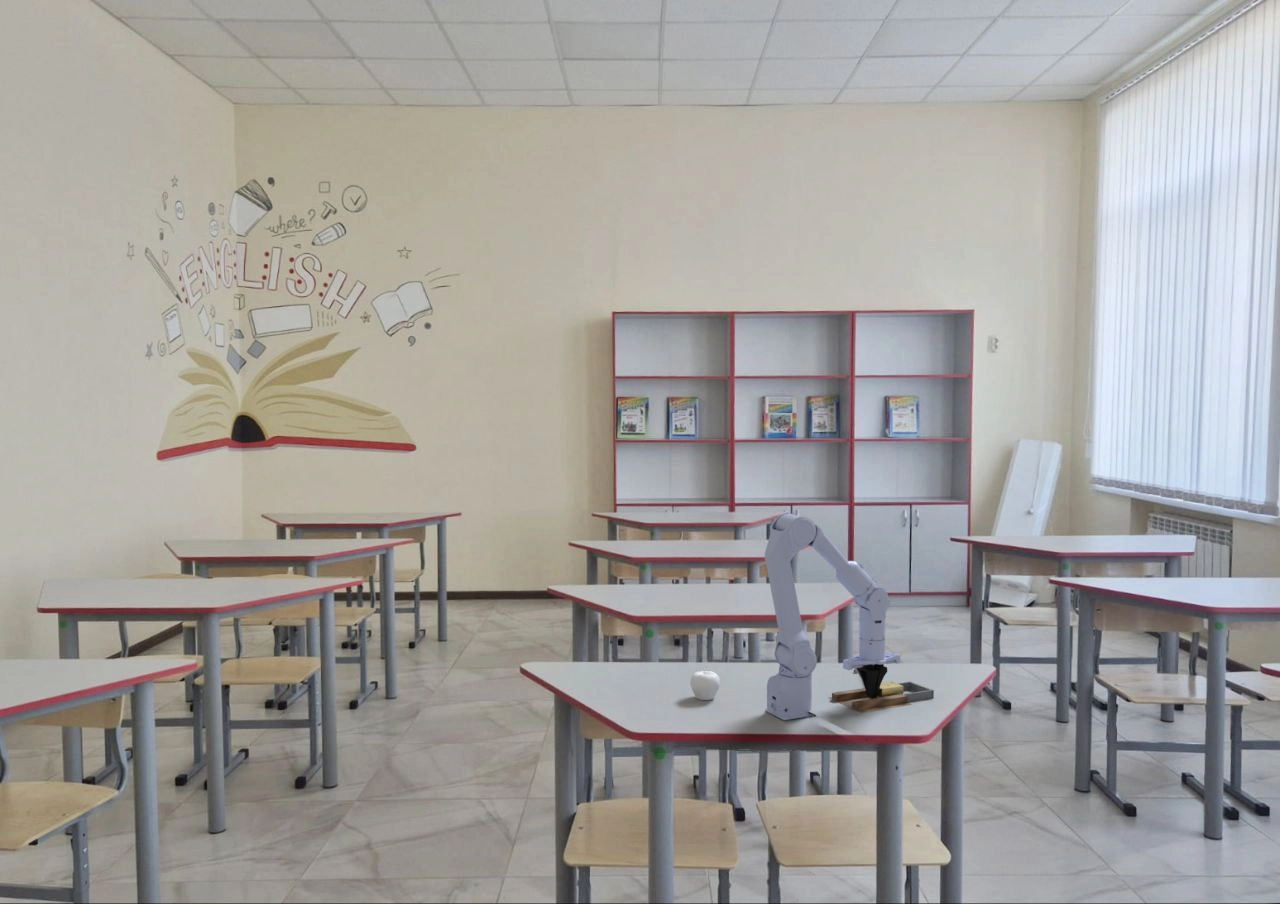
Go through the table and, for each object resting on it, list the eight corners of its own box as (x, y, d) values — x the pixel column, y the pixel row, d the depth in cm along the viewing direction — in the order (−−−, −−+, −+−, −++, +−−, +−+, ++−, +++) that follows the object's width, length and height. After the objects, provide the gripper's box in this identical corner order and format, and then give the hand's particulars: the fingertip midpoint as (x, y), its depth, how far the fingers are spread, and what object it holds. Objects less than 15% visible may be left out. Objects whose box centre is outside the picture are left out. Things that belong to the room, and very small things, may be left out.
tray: (905, 707, 212) (905, 694, 211) (883, 697, 219) (883, 685, 219) (933, 702, 215) (933, 690, 215) (910, 693, 222) (910, 681, 222)
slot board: (860, 717, 204) (860, 705, 204) (828, 702, 215) (828, 691, 215) (911, 709, 210) (911, 697, 210) (877, 695, 221) (877, 684, 221)
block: (882, 702, 211) (882, 689, 211) (870, 697, 215) (870, 684, 215) (903, 698, 214) (903, 685, 214) (891, 694, 217) (891, 681, 217)
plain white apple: (690, 702, 215) (690, 668, 215) (689, 693, 222) (689, 660, 222) (721, 703, 215) (721, 668, 215) (719, 694, 222) (719, 660, 222)
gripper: (856, 645, 205) (856, 706, 206) (909, 638, 211) (909, 698, 212) (837, 638, 212) (837, 697, 212) (889, 632, 218) (888, 690, 218)
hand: (871, 697), depth 212 cm, fingers closed
